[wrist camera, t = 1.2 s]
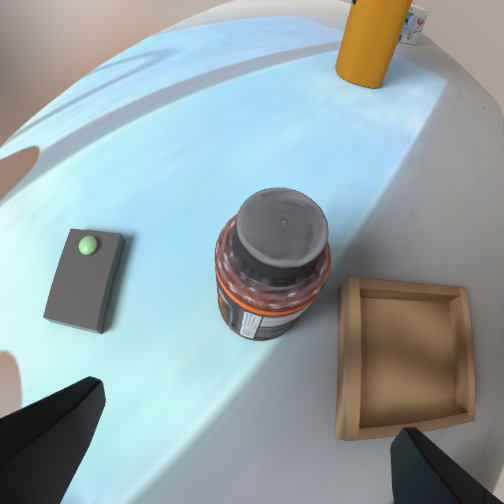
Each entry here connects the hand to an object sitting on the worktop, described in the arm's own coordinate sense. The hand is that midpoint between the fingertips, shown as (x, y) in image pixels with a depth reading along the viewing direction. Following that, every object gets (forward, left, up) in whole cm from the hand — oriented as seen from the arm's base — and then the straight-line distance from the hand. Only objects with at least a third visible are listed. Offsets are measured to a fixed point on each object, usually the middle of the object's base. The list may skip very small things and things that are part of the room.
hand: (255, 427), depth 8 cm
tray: (+4, -13, -13) cm, 19 cm away
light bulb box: (+74, -29, -13) cm, 81 cm away
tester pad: (+8, +13, -13) cm, 20 cm away
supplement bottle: (+8, -1, -13) cm, 16 cm away
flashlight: (+45, -14, -13) cm, 49 cm away
